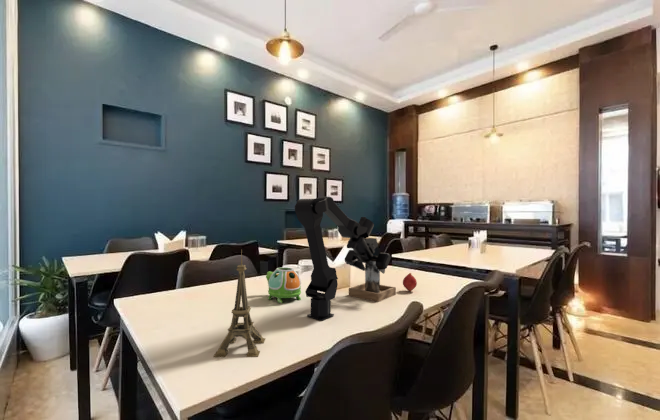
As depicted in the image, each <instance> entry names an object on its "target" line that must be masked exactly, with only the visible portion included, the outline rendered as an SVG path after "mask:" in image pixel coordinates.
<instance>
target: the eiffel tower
mask: <svg viewBox="0 0 660 420" xmlns="http://www.w3.org/2000/svg"><path fill="white" fill-rule="evenodd" d="M242 253H243V249H241V255H240V264H239V265H237V266H236V267H237V268H236V271H237V272H238V275H237V283H236V284H237V285H236V286H237V287H236V293H235V302H234V307H233V309H232V310H231V314H232V320H231V322H230V326H229V328H228V329H227V331H228V333H227V334H226V336H225V338H224V339H223V340H222V343H221V344H220V346H219V347H218V350H216V352H215V353H214V355H213V356H212V357H213V358H226V356H227V354H228V353H229V349H228V348H229V346H230V344H232V345H233V344H235V342H236V341H237V338H238V337H239V338H240V337H241V338H243V339H244V340H245V342H246V347H247V353H246V355H245V356H246V358H258V357H259V355H260V353H261V350H259V349H258V347H257V345H256V344H264V343H265V341H266V338H265V337H263V336H262V334H261V333H260V332H259V330H258V329H257V328H256V326H255V325H254V321H252V318H251V314H250V313H251V309H252V308H251V305H249V302H248V294H247V286H246V276H245V271H246V270H247V269H248V268H247V267H246V264H243V254H242ZM240 318H243V322H239V319H240Z"/></svg>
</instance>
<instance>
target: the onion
mask: <svg viewBox="0 0 660 420" xmlns="http://www.w3.org/2000/svg"><path fill="white" fill-rule="evenodd" d="M402 285H403V287H404V288H405V289H406V290H407V291H408V292H412V291H413V290H415V288H416V287H417V285H418V281H417V279H416V277H414V276H413V274H412V272H409V273H408V274H407V275H405V277H404V278H403V280H402Z"/></svg>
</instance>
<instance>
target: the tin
mask: <svg viewBox="0 0 660 420" xmlns="http://www.w3.org/2000/svg"><path fill="white" fill-rule="evenodd" d="M364 267H365V271H364V283H365V291H369V292H374V293H379V292H380V285H381V272H380V271H379V270H378V269H377V267H376V262H375V261H369V263H364Z"/></svg>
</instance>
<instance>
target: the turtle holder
mask: <svg viewBox="0 0 660 420" xmlns="http://www.w3.org/2000/svg"><path fill="white" fill-rule="evenodd" d="M265 278H266V281H267V284H268V285H267V286H268V290H267V291H268V294H269V296H268V297H267V299H268V300H272V299H273V298H276V300H277V303H279V304H282V303H283V300H282V299H290V298H291V299H292V298H295V299H296V300H298V301H301V300H302V298H301V296H300V295H301V293H302V291H301V287H302V286H301V284H302V282H301V281H302V280H301V278H300V275H299V274H298V273H297V271H296V270H295V269H294V268H292V267H288V266H287V267H286V266H285V267H284V266H283V267H277V268H276V269H275V270H274V271H271V270H270V271H267V272H266V275H265Z"/></svg>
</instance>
